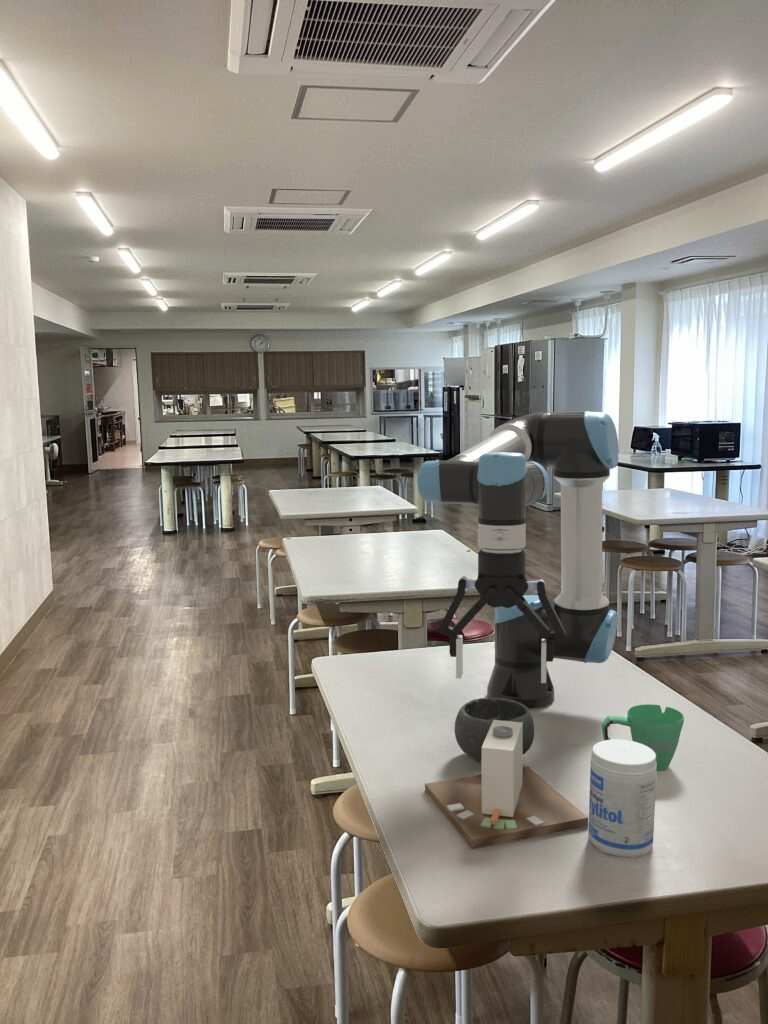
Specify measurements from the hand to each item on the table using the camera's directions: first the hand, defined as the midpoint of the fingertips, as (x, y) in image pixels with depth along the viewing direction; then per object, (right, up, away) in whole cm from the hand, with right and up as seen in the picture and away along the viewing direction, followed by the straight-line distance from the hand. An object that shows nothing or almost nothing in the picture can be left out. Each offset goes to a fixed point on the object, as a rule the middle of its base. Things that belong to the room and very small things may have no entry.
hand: (501, 678), depth 135 cm
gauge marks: (-1, -21, -3) cm, 22 cm away
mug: (+28, -20, +18) cm, 39 cm away
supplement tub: (+17, -24, -9) cm, 30 cm away
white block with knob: (0, -21, +1) cm, 21 cm away
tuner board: (+1, -22, +3) cm, 22 cm away
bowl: (+2, -20, +22) cm, 30 cm away
